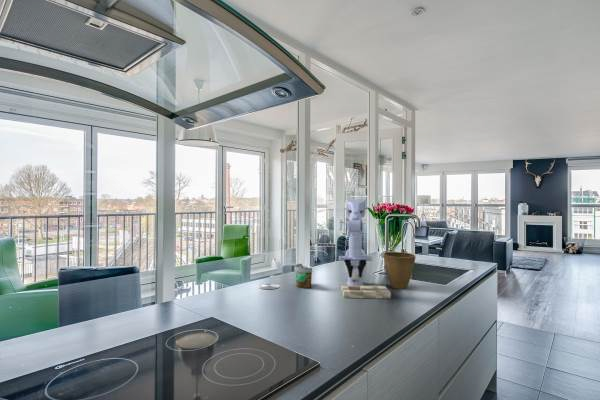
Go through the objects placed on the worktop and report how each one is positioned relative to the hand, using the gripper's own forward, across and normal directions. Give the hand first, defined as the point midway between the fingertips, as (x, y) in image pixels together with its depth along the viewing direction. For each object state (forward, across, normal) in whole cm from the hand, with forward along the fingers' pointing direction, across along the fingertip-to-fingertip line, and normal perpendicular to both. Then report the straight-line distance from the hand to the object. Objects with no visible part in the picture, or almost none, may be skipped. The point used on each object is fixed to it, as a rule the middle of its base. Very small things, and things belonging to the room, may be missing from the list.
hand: (355, 277), depth 142 cm
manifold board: (+8, +4, 0) cm, 9 cm away
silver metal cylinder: (+2, 0, 0) cm, 2 cm away
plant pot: (+8, +24, +13) cm, 28 cm away
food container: (+8, -24, +12) cm, 28 cm away
